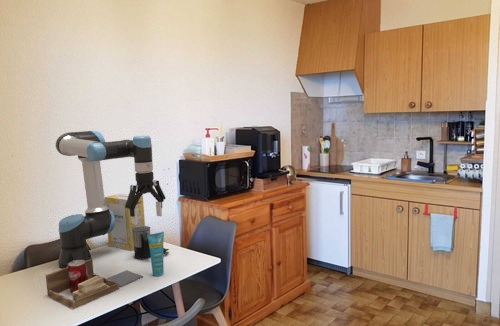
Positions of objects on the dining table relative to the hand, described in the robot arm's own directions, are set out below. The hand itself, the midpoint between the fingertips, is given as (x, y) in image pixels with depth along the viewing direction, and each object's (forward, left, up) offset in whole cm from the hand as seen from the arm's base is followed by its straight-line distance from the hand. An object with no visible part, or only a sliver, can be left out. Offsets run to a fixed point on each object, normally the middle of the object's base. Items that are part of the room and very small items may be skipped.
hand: (147, 219), depth 172 cm
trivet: (-9, -8, -26) cm, 29 cm away
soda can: (-15, -25, -26) cm, 40 cm away
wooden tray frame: (-12, -25, -26) cm, 38 cm away
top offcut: (-6, -25, -23) cm, 35 cm away
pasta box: (-46, +21, -26) cm, 57 cm away
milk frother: (-22, +18, -26) cm, 38 cm away
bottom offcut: (-7, -26, -27) cm, 37 cm away
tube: (0, +4, -26) cm, 27 cm away
